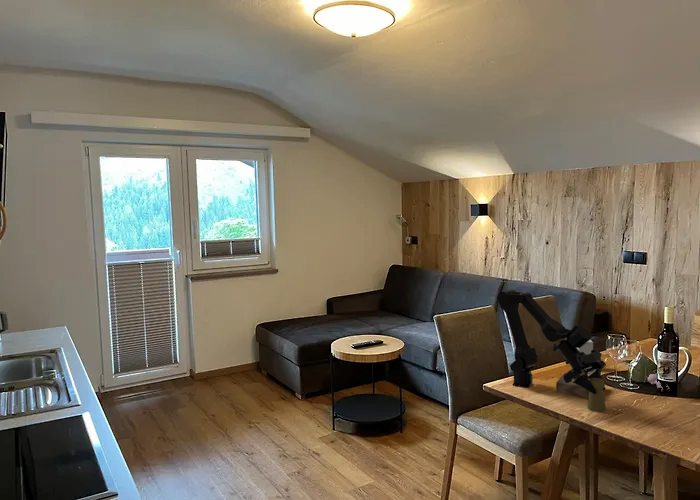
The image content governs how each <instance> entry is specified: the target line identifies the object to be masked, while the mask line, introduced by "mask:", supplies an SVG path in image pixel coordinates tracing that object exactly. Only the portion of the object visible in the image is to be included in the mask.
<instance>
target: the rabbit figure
mask: <svg viewBox="0 0 700 500" xmlns="http://www.w3.org/2000/svg"><path fill="white" fill-rule="evenodd" d="M658 373H659V372H656V373H655V374H650V375H649V377H647V382H649V383H650V384H651V385H654V384H656V387H657V389H658V388H662V389H661V391H663V390H664V389H663V387H662V386H661V383H660V382H657V379H658ZM666 387H668V388H667V390H668V389H670V386H669V385H667V386H666Z"/></svg>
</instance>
